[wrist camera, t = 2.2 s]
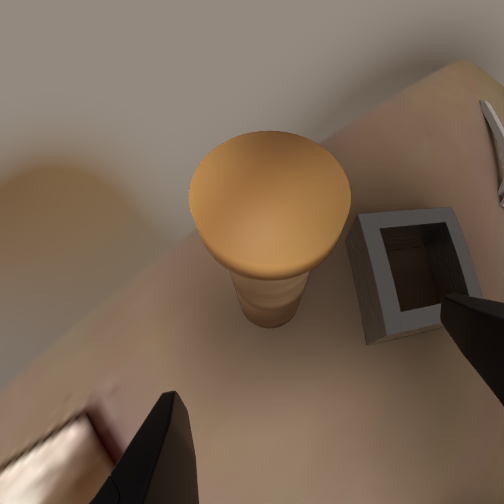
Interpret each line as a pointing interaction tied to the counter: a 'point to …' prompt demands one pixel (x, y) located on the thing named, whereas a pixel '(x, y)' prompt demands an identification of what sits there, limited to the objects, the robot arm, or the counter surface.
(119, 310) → the counter surface
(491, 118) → the caliper
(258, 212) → the pin
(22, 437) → the counter surface
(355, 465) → the counter surface
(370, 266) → the socket block
